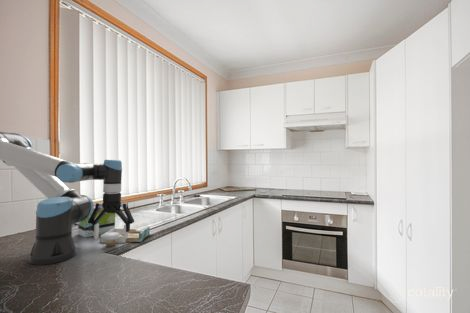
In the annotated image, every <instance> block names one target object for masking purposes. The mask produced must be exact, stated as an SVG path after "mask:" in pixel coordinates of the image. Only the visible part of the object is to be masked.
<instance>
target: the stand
mask: <svg viewBox="0 0 470 313" xmlns="http://www.w3.org/2000/svg"><path fill="white" fill-rule="evenodd" d="M105 243H106V245H105V246H106V247H107V248H112V247H115V246H116V243H115V240H107V241H106V242H105Z"/></svg>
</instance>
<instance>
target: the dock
mask: <svg viewBox="0 0 470 313" xmlns="http://www.w3.org/2000/svg"><path fill="white" fill-rule="evenodd" d="M130 231H137V228H131V227H130ZM111 232H117V233H119V235H120V234H122V233H124V227H123V228H121V227H115V228H113V229H112V230H110V231H108V232H106V233H111ZM106 233H105V234H106ZM102 235H103V234H100V235H99V243H106V241H107V240H103V239H102ZM126 242H127V241H126V239H125V240H124V236H119V238H118V239H115V244H116V243H117V244H119V243H120V244H121V243H123V244H126Z"/></svg>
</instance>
